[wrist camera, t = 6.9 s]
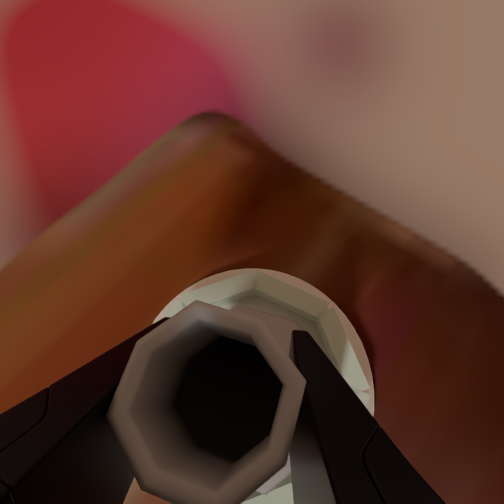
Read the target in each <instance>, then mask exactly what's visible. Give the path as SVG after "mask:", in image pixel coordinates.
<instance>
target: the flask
mask: <svg viewBox="0 0 504 504" xmlns="http://www.w3.org/2000/svg"><path fill="white" fill-rule="evenodd" d="M292 330H303V329H302V328H301V326H300V325H299V324H298V323H297V321H293V320H290V319H287V318H283V317H280V316H277V315H273V314H270V313H266V312H263V311H260V310H256V309H253V308H250V307H246V306H243V305H240V304H237V305H236V306H235V307H233V308H232V309H230V310H228V309H225V308H222V307H218V306H215V305H212V304H208V303H205V302H202V301H199V300H195V301H193V302H192V303H191V304H189V305H188V306H186V307H185V308H183V309H182V310H181V311H179V312H178V313H176V314H175V315H173V316H172V317H171V318H169V319H168V320H166V321H165V322H163V323H162V324H161V325H159V326H158V327H156V328H155V329H153V330H152V331H151V332H149V333H148V334H146V335H145V336H143V337H142V338H141V339H139V340H138V341H137V342H136V344H135V347H134V349H133V352H132V354H131V356H130V359H129V361H128V363H127V366H126V368H125V371H124V373H123V375H122V378H121V380H120V382H119V385H118V387H117V390H116V392H115V394H114V397H113V399H112V402H111V404H110V406H109V409H108V411H107V413H106V418H107V420H108V422H109V424H110V426H111V428H112V430H113V432H114V434H115V436H116V438H117V440H118V443H119V445H120V447H121V449H122V451H123V453H124V455H125V457H126V459H127V461H128V463H129V465H130V468H131V470H132V472H133V474H134V476H135V478H136V480H137V482H138V484H139V486H140V488H141V490H143V491H145V492H147V493H150V494H152V495H155V496H157V497H159V498H162V499H164V500H166V501H169V502H171V503H173V504H240V503H242V502H243V501H244V500H245V499H246V498H247V497H249V496H250V495H251V494H252V493H253V492H255V491H256V492H259V493H261V494H264V495H267V494H268V493H269V492H271V491H272V490H273V489H274V488H275V487H276V486H278V485H279V484H280V483H281V482H282V481H284V480H285V479H286V478H287V477H288V476H289V475H291V467H290V455H289V451H290V447H291V442H292V438H293V434H294V430H295V426H296V422H297V418H298V413H299V409H300V405H301V401H302V397H303V393H304V389H305V384H306V380H305V379H304V377H303V376H302V374H301V373H300V372H299V370H298V369H297V368H296V366H295V365H294V364H293V362H292V361H291V359H290V358H289V349H290V340H291V333H292Z"/></svg>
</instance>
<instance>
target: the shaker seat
mask: <svg viewBox="0 0 504 504" xmlns="http://www.w3.org/2000/svg"><path fill="white" fill-rule="evenodd" d="M195 300H199V301H202V302H205V303H208V304H212V305H215V306H218V307H222V308H225V309H228V310H230V309H232V308H233V307H235V306H236V305H237V304H240V305H243V306H246V307H250V308H253V309H256V310H260V311H263V312H266V313H270V314H273V315H277V316H280V317H283V318H287V319H290V320H293V321H297V323H298V324H299V325H300V326H301V328H302V329H303V330H304V331H308V332H309V333H310V335H311V336H312V337H313V339H314V340H315V341H316V342H317V344H318V345H319V346H320V348H321V349H322V350H323V352H324V353H325V354H326V356H327V357H328V358H329V360H330V361H331V362H332V363H333V365H334V366H335V367H336V369H337V370H338V371H339V373H340V374H341V375H342V377H343V378H344V379H345V380H346V382H347V383H348V384H349V386H350V387H351V388H352V390H353V391H354V392H355V394H356V395H357V396H358V397H359V399H360V400H361V401H362V403H363V404H364V405H365V407H366V408H367V409H368V411H369V412H370V413H371V415H372V416H374V386H373V379H372V373H371V369H370V365H369V361H368V357H367V355H366V352H365V349H364V347H363V344H362V342H361V340H360V338H359V336H358V334H357V332H356V330H355V329H354V327H353V326H352V324H351V323H350V321H349V320H348V318H347V317H346V315H345V314H344V313H343V312H342V311H341V310H340V309H339V307H338V306H337V305H336V304H335V303H334V302H333V301H332V300H330V299H329V298H328V297H327V296H326V295H325V294H324V293H322V292H321V291H319V290H318V289H316V288H315V287H314V286H312V285H310V284H309V283H307V282H305V281H303V280H301V279H299V278H297V277H294V276H291V275H288V274H286V273H282V272H278V271H274V270H267V269H258V268H249V269H237V270H230V271H225V272H222V273H218V274H215V275H212V276H210V277H207V278H205V279H203V280H201V281H199V282H197V283H195V284H193V285H192V286H190V287H188V288H187V289H186V290H184V291H183V292H181V293H180V294H179V295H177V296H176V297H175V298H174V299H173V300H172V301H171V302H170V303H169V304H168V305H167V306H166V307H165V308H164V309H163V310H162V312H161V313H160V314H159V315H158V316H157V317H156V319H155V320H154V322H153V324H154V323H155V322H157V321H159V320H160V319H162V318H164V317H172V316H173V315H175V314H176V313H178V312H179V311H181V310H182V309H183V308H185V307H186V306H188V305H189V304H191V303H192V302H193V301H195ZM240 504H294V501H293V490H292V478H291V475H289V476H288V477H287V478H286V479H285V480H284V481H282V482H281V483H280V484H279V485H278V486H276V487H275V488H274V489H273V490H272V491H271V492H269V493H268V494H267V495H264V494H261V493H259V492H256V491H255V492H253V493H252V494H251V495H250V496H249V497H247V498H246V499H245V500H244V501H243V502H242V503H240Z"/></svg>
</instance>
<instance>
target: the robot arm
mask: <svg viewBox="0 0 504 504" xmlns="http://www.w3.org/2000/svg"><path fill="white" fill-rule="evenodd" d="M169 318H171V317H164V318H162V319H160V320H159V321H157V322H155V323H154V324H152V325H150V326H149V327H147V328H145V329H144V330H142V331H140V332H139V333H137V334H135V335H134V336H132V337H130V338H129V339H127V340H125V341H124V342H122V343H120V344H119V345H117V346H115V347H114V348H112V349H110V350H109V351H107V352H105V353H103V354H102V355H100V356H98V357H97V358H95V359H93V360H92V361H90V362H88V363H87V364H85V365H83V366H82V367H80V368H78V369H77V370H75V371H73V372H72V373H70V374H68V375H67V376H65V377H63V378H62V379H60V380H58V381H57V382H55V383H53V384H52V385H50V386H49V388H45V389H43V390H41V391H40V392H38V393H36V394H35V395H33V396H31V397H30V398H28V399H26V400H24V401H23V402H21V403H19V404H17V405H16V406H14V407H12V408H10V409H9V410H7V411H5V412H3V413H2V414H0V504H123V502H124V500H125V497H126V495H127V493H128V490H129V488H130V486H131V483H132V481H133V479H134V474H133V472H132V470H131V468H130V465H129V463H128V461H127V459H126V457H125V455H124V453H123V451H122V449H121V447H120V445H119V443H118V440H117V438H116V436H115V434H114V432H113V430H112V428H111V426H110V424H109V422H108V420H107V418H106V413H107V411H108V409H109V406H110V404H111V402H112V399H113V397H114V394H115V392H116V390H117V387H118V385H119V382H120V380H121V378H122V375H123V373H124V371H125V368H126V366H127V363H128V361H129V359H130V356H131V354H132V352H133V349H134V347H135V344H136V342H137V341H138V340H139V339H141V338H142V337H143V336H145V335H146V334H148V333H149V332H151V331H152V330H153V329H155V328H156V327H158V326H159V325H161V324H162V323H163V322H165V321H166V320H168V319H169ZM289 358H290V359H291V361H292V362H293V364H294V365H295V366H296V368H297V369H298V370H299V372H300V373H301V374H302V376H303V377H304V379H305V380H306V384H305V389H304V393H303V397H302V401H301V405H300V409H299V413H298V418H297V422H296V426H295V430H294V434H293V438H292V442H291V447H290V451H289V455H290V467H291V478H292V490H293V501H294V504H446V503H445V502H444V501H443V500H442V499H441V498H440V497H439V496H438V494H437V493H436V492H435V491H434V490H433V489H432V488H431V487H430V486H429V484H428V483H427V482H426V481H425V480H424V479H423V478H422V477H421V475H420V474H419V473H418V472H417V471H416V470H415V469H414V467H413V466H412V465H411V464H410V463H409V462H408V460H407V459H406V458H405V457H404V455H403V454H402V453H401V452H400V450H399V449H398V448H397V447H396V446H395V444H394V443H393V442H392V440H391V439H390V438H389V437H388V435H387V434H386V433H385V431H384V430H383V429H382V428H381V427H379V424H378V422H377V421H376V420H375V418H374V417H373V416H372V415H371V413H370V412H369V411H368V409H367V408H366V407H365V405H364V404H363V403H362V401H361V400H360V399H359V397H358V396H357V395H356V394H355V392H354V391H353V390H352V388H351V387H350V386H349V384H348V383H347V382H346V380H345V379H344V378H343V377H342V375H341V374H340V373H339V371H338V370H337V369H336V367H335V366H334V365H333V363H332V362H331V361H330V360H329V358H328V357H327V356H326V354H325V353H324V352H323V350H322V349H321V348H320V346H319V345H318V344H317V342H316V341H315V340H314V339H313V337H312V336H311V335H310V333H309V332H308V331H304V330H292V333H291V340H290V349H289Z"/></svg>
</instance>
